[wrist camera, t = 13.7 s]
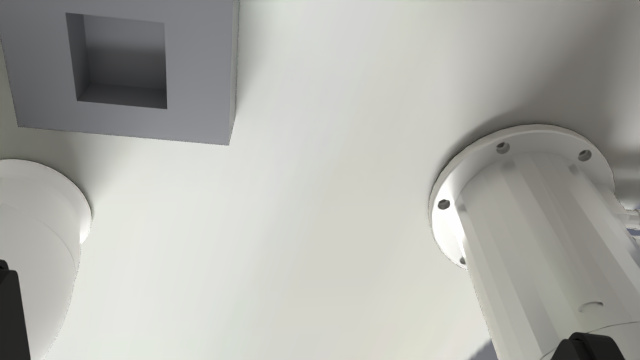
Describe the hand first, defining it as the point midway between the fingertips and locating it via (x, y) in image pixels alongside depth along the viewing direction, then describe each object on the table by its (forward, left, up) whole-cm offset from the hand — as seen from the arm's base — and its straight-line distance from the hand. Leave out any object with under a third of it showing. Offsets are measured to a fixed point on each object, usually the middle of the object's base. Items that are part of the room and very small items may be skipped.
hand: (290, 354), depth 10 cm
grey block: (+9, +5, -26) cm, 28 cm away
